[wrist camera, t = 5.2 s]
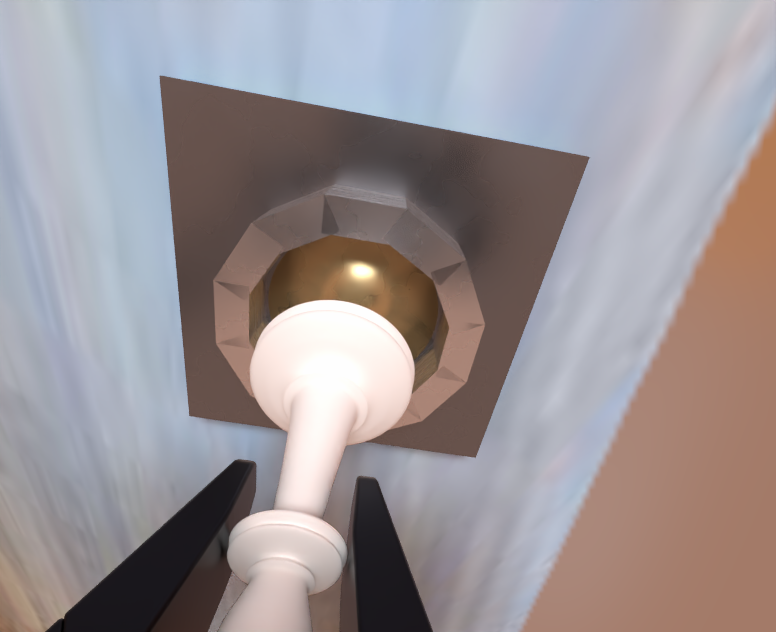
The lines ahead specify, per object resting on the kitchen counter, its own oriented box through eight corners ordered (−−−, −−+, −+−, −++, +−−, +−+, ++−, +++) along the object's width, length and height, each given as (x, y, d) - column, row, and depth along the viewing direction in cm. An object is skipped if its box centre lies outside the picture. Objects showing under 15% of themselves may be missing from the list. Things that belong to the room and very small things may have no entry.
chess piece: (226, 322, 11) (-456, 1115, 2) (388, 279, 10) (330, 1197, 2) (291, 444, 13) (73, 1104, 4) (431, 415, 13) (510, 1137, 4)
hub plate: (471, 439, 20) (483, 492, 17) (201, 399, 19) (166, 447, 17) (574, 154, 14) (620, 163, 11) (179, 79, 13) (117, 67, 10)
